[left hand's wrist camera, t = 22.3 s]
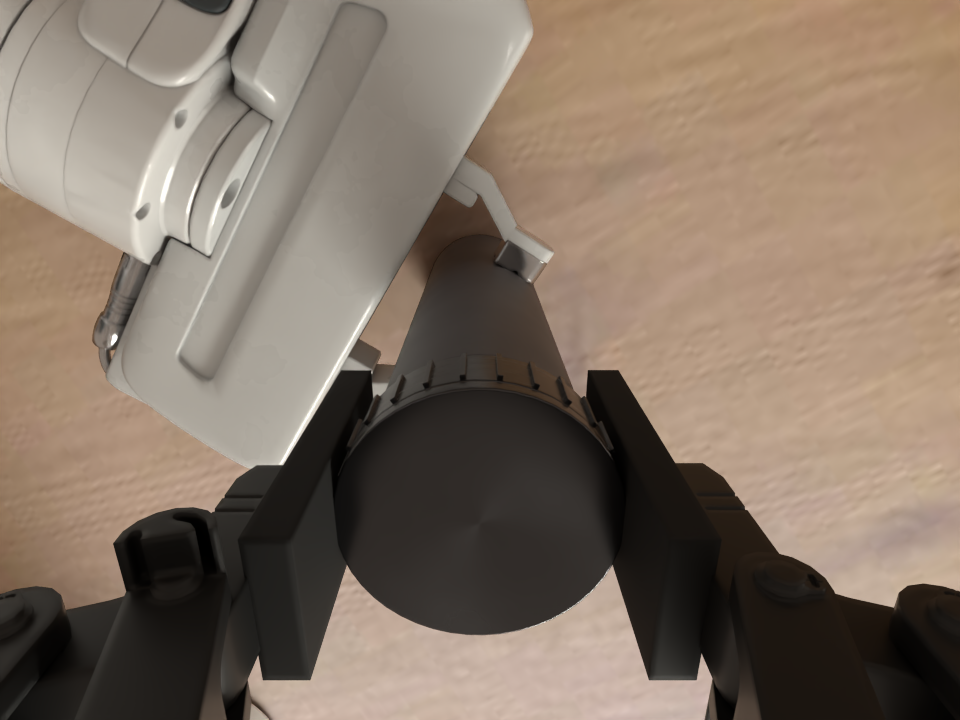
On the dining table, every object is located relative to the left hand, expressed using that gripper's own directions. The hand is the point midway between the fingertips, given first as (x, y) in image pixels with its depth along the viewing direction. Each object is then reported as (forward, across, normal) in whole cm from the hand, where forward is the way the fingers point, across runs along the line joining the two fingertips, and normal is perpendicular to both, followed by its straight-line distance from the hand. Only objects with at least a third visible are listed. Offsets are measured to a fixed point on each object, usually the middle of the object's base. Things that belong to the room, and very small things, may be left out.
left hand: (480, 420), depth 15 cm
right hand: (+9, -1, 0) cm, 9 cm away
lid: (-4, 0, 0) cm, 4 cm away
